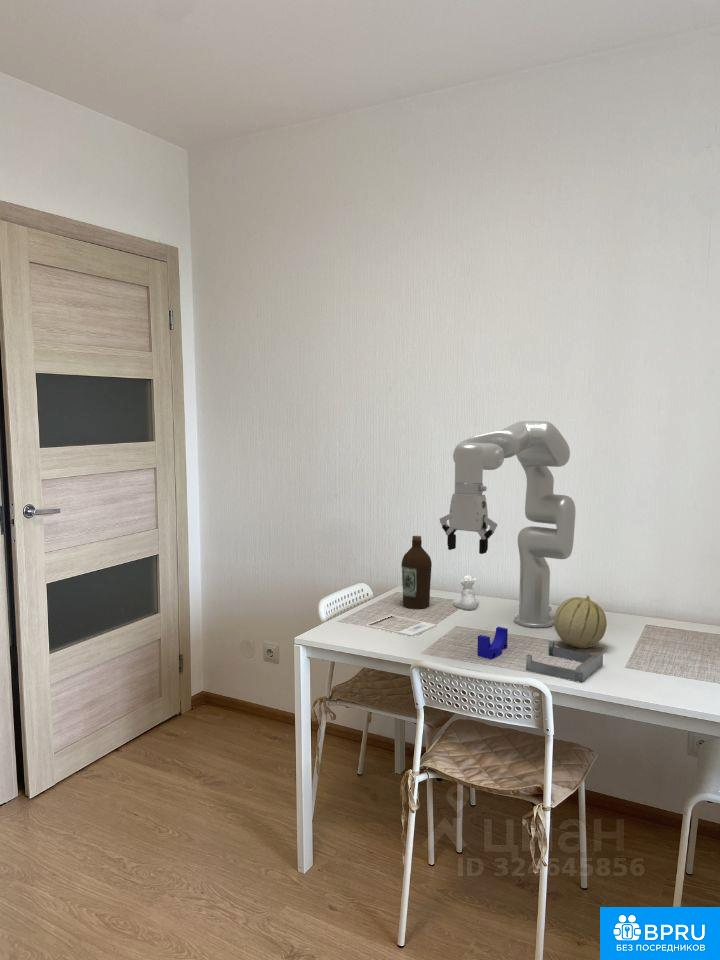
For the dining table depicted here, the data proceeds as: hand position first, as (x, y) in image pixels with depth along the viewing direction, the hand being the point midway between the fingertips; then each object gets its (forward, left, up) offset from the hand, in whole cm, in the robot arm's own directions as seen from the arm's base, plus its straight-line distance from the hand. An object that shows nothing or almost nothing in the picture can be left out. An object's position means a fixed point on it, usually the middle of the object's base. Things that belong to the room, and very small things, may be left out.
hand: (467, 551), depth 200 cm
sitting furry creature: (-48, -26, -31) cm, 62 cm away
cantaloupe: (-30, +21, -31) cm, 48 cm away
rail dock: (-10, +24, -30) cm, 40 cm away
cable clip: (-10, +4, -31) cm, 32 cm away
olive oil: (-39, -42, -31) cm, 64 cm away
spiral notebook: (-15, -32, -31) cm, 47 cm away
